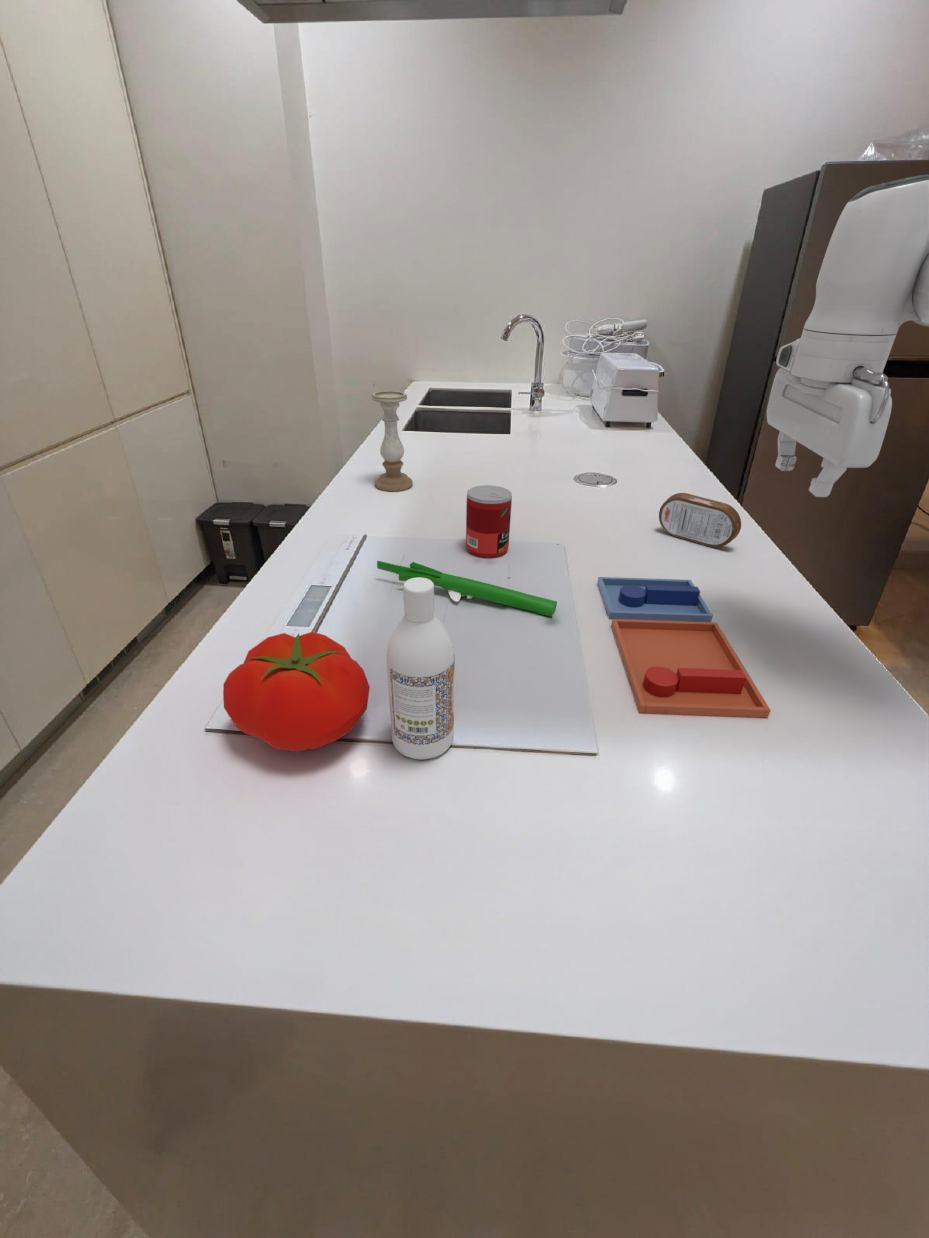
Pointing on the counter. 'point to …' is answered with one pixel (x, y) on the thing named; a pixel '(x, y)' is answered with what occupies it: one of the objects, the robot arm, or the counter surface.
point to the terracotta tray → (683, 649)
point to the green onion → (472, 588)
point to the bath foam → (421, 676)
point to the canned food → (488, 520)
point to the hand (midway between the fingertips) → (799, 481)
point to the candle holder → (391, 444)
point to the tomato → (296, 692)
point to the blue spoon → (658, 595)
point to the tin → (699, 520)
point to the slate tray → (649, 611)
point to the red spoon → (692, 681)
